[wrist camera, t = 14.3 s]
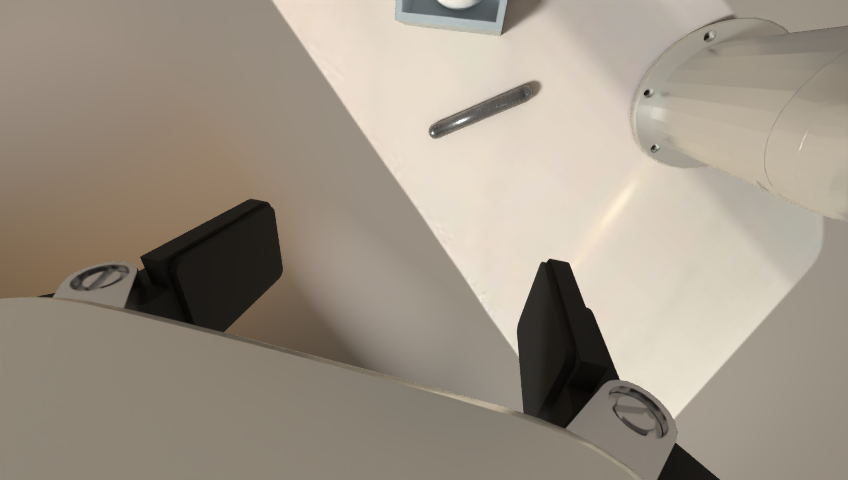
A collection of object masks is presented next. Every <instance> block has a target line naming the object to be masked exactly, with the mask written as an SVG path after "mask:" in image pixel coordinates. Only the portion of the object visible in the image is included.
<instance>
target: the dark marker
mask: <svg viewBox="0 0 848 480" xmlns="http://www.w3.org/2000/svg"><path fill="white" fill-rule="evenodd" d="M532 94H533V91H532V88H531V87H530V86H528V85H523V86H520V87H518V88H516V89H514V90H511V91H509V92H507V93H504V94H502V95H500V96H497V97H495V98H493V99H490V100H488V101H486V102H484V103H481V104H479V105H477V106H474V107H472V108H470V109H467V110H465V111H463V112H461V113H458V114H456V115H454V116H451V117H449V118H447V119H444V120H442V121H440V122H437V123H435V124H433V125H431V126H430V128H429V135H430V136H431V137H432V138H434V139H437V138H440V137H442V136H445V135H447V134H449V133H452V132H454V131H457V130H459V129H462V128H464V127H466V126H469V125H471V124H474V123H476V122H478V121H481V120H483V119H486V118H488V117H490V116H493V115H495V114H498V113H500V112H503V111H505V110H507V109H510V108H512V107H515V106H517V105H519V104H522V103H524V102H527V101H528V100H530V98H531V97H532Z"/></svg>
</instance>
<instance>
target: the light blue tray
mask: <svg viewBox="0 0 848 480" xmlns="http://www.w3.org/2000/svg"><path fill="white" fill-rule="evenodd" d="M506 6H507V0H481V1H480V2H479V3H478V4H476V5H475V6H473V7H471V8H469V9H465V10H452V9H449V8H447V7H445V6H443V5H442V4H441V3H439V2H438V1H437V0H396V7H395V20H397V21H399V22H401V23H403V24H405V25H410V26H419V27H428V28H436V29H445V30H454V31H463V32H471V33H480V34H489V35H498V36H501V31H502V26H503V21H504V16H505V11H506Z"/></svg>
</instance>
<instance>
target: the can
mask: <svg viewBox="0 0 848 480" xmlns="http://www.w3.org/2000/svg"><path fill="white" fill-rule="evenodd" d="M437 1H438V2H439V3H441V4H442V5H443V6H445V7H447V8H449V9H452V10H465V9H469V8H471V7H473V6H475V5H476V4H478V3H479V2H480V1H481V0H437Z"/></svg>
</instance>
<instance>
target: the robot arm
mask: <svg viewBox="0 0 848 480" xmlns="http://www.w3.org/2000/svg"><path fill="white" fill-rule="evenodd" d="M705 34H706V35H707V38H706V39H705V40H704V35H705ZM645 90H648V93H647V94H646V95H644V92H645ZM631 127H632V133H633V135H634V138H635V140H636V143H637V144H638V145H639V147H640V148H641V149H642V151H643V152H645V153H646V154H647V155H648V156H649V157H651V158H652V159H654V160H656V161H658V162H660V163H662V164H665V165H668V166H671V167H677V168H699V167H705V166H711V167H713V168H716V169H718V170H720V171H722V172H725V173H727V174H729V175H731V176H733V177H736V178H738V179H740V180H742V181H745V182H747V183H749V184H751V185H753V186H756V187H758V188H760V189H762V190H765V191H767V192H769V193H771V194H773V195H776V196H778V197H780V198H782V199H785V200H787V201H789V202H791V203H793V204H796V205H799V206H801V207H803V208H806V209H808V210H810V211H812V212H815V213H818V214H821V215H824V216H827V217H830V218H835V219H839V220H843V221H848V26H843V27H835V28H827V29H819V30H811V31H803V32H795V33H789V32H788V31H787V30H786V29H785V28H784V27H782V26H780V25H778V24H776V23H774V22H772V21H768V20H763V19H759V18H737V19H731V20H725V21H722V22H718V23H715V24H711V25H708V26H705V27H703V28H701V29H699V30H697V31H694V32H692V33H690V34H689V35H687V36H686V37H684V38H683V39H681V40H679V41H678V42H676V43H675V44H674V45H673V46H671V47H670V48H669V49H668V50H667V51H666V52H664V53H663V54H662V55H661V56H660V57H659V58H658V60H657V61H656V62H655V63H654V64H653V65H652V66H651V67H650V69H649V70H648V72H647V73H646V75H645V76H644V78H643V79H642V81H641V83H640V85H639V87H638V90H637V92H636V94H635V97H634V101H633V104H632V108H631ZM653 145H654V148H652V149H651V147H652V146H653ZM140 258H141V260H142V262H143V265H144V267H145V268H144V269H143V270H141V271H138V269H137V267H136V266H135V265H134V264H133V263H129V262H123V261H115V262H106V263H101V264H97V265H94V266H90V267H87V268H85V269H82V270H80V271H77V272H75V273H74V274H72V275H71V276H69V277H68V278H66V279H65V280H64V281H63V282H62V284H61V285H60V287H59V288H58V290H57V291H56V293H53V294H48V295H43V296H38V297H23V298H5V299H0V480H720V479H718V478H717V477H716V476H715V475H714V474H712V473H711V472H710V471H709V470H707V469H706V468H705V467H704V466H703V465H702V464H700V463H699V462H698V461H697V460H695V459H694V458H693V457H692V456H691V455H690V454H689V453H687V452H686V451H685V450H684V449H682V448H681V447H680V446H679V445H678V444H677V443H675V442H676V439H677V433H678V431H677V428H676V424H675V421H674V419H673V418H672V416H671V414H670V413H669V411H668V410H667V409H666V408H665V407H664V405H663V404H662V403H661V402H660V401H659V400H658V399H657V398H655V397H654V396H653V395H652V394H651V393H649V392H648V391H646V390H644V389H643V388H641V387H639V386H638V385H635V384H633V383H630V382H628V381H622V380H620V379H619V377H618V374H617V372H616V369H615V367H614V364H613V362H612V359H611V357H610V354H609V352H608V349H607V347H606V344H605V342H604V339H603V337H602V334H601V332H600V329H599V327H598V324H597V322H596V319H595V317H594V314H593V312H592V311H591V310H590V309H589V308H586V306H585V304H584V301H583V298H582V296H581V293H580V290H579V288H578V285H577V283H576V280H575V277H574V275H573V272H572V269H571V267H570V264H569V263H568V262H564V261H559V260H554V259H549V260H548V261H547V263H546V262H541V264H540V266H539V269H538V271H537V274H536V277H535V279H534V282H533V285H532V287H531V290H530V293H529V296H528V298H527V301H526V304H525V306H524V309H523V312H522V314H521V317H520V320H519V323H518V327H517V339H518V351H519V363H520V375H521V387H522V397H523V398H522V399H523V410H524V413H521V412H518V411H515V410H512V409H509V408H505V407H502V406H499V405H495V404H491V403H488V402H484V401H481V400H477V399H474V398H470V397H467V396H463V395H460V394H456V393H453V392H449V391H445V390H442V389H438V388H434V387H430V386H427V385H423V384H419V383H415V382H412V381H408V380H404V379H400V378H396V377H393V376H389V375H385V374H381V373H378V372H374V371H370V370H366V369H362V368H359V367H355V366H351V365H347V364H344V363H340V362H335V361H331V360H328V359H324V358H321V357H316V356H313V355H309V354H305V353H301V352H297V351H294V350H290V349H286V348H282V347H278V346H274V345H270V344H266V343H263V342H259V341H255V340H251V339H247V338H243V337H239V336H235V335H231V334H227V333H223V332H224V331H225V330H226V329H227V328H228V327H229V326H231V325H232V324H233V323H234V322H235V321H236V320H237V319H238V318H239V317H240V316H241V315H242V314H243V313H244V312H245V311H246V310H247V309H248V308H249V307H250V306H251V305H252V304H253V303H254V302H255V301H256V300H257V299H258V298H260V297H261V295H263V294H264V293H265V292H266V291H267V290H268V289H269V288H270V287H271V286H272V285H273V284H274V283H275V282H276V281H277V280H278V279H279V278H280V277H281V274H282V271H283V266H282V260H281V253H280V246H279V239H278V232H277V225H276V218H275V211H274V209H273V208H272V207H271V206H270V204H269V203H268V202H264V201H260V200H254V199H249V200H247V201H245V202H243V203H241V204H240V205H237V206H236V207H234V208H232V209H230V210H228V211H226V212H224V213H222V214H220V215H219V216H217V217H215V218H213V219H211V220H209V221H207V222H205V223H203V224H201V225H200V226H198V227H196V228H194V229H192V230H190V231H188V232H186V233H184V234H183V235H181V236H179V237H177V238H175V239H173V240H171V241H169V242H168V243H165V244H164V245H162V246H160V247H158V248H156V249H154V250H152V251H151V252H148V253H147V254H145V255H143V256H141V257H140Z"/></svg>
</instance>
